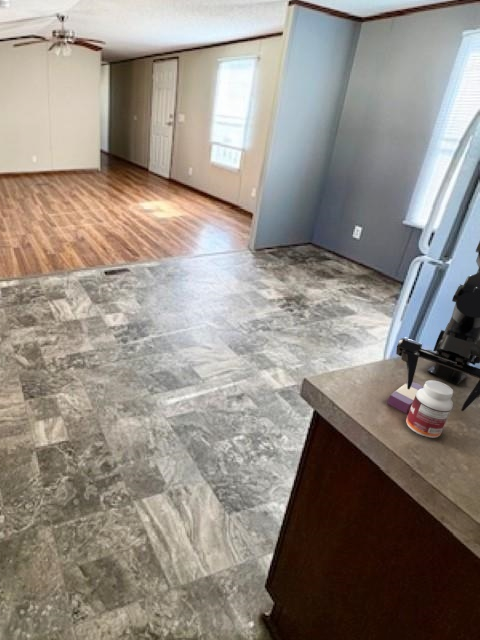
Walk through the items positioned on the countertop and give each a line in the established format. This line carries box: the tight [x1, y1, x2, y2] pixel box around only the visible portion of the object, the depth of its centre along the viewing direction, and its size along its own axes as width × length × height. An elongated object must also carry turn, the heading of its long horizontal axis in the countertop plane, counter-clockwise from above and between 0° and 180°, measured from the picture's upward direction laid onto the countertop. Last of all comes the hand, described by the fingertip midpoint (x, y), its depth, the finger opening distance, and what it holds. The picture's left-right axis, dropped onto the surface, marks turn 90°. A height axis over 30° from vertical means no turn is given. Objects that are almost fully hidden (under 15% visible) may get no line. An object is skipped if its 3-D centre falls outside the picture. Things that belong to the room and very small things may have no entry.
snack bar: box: [386, 381, 424, 414], centre depth 99 cm, size 10×4×2 cm, turn 123°
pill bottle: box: [405, 379, 454, 439], centre depth 89 cm, size 6×6×11 cm
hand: (434, 399), depth 88 cm, fingers open, 9 cm apart
